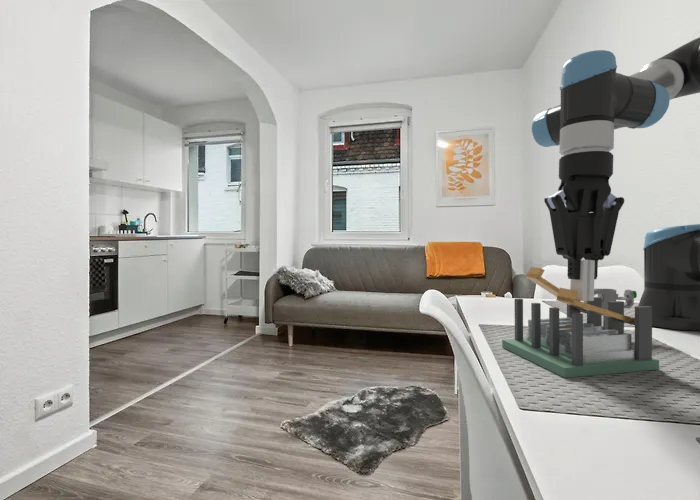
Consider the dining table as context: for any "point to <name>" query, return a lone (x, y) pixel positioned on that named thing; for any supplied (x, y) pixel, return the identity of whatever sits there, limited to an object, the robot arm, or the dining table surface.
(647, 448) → the dining table surface
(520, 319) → the set of grey pegs
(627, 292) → the mechanical component
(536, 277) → the strap
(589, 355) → the heatsink
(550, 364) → the socket board
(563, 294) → the strap
